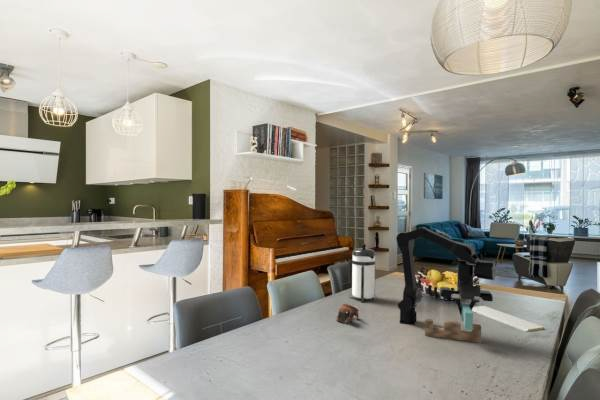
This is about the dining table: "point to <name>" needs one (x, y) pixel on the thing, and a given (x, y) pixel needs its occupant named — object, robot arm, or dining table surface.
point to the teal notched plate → (467, 316)
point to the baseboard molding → (507, 319)
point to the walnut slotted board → (453, 331)
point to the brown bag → (349, 315)
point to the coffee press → (362, 273)
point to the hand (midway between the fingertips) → (464, 315)
